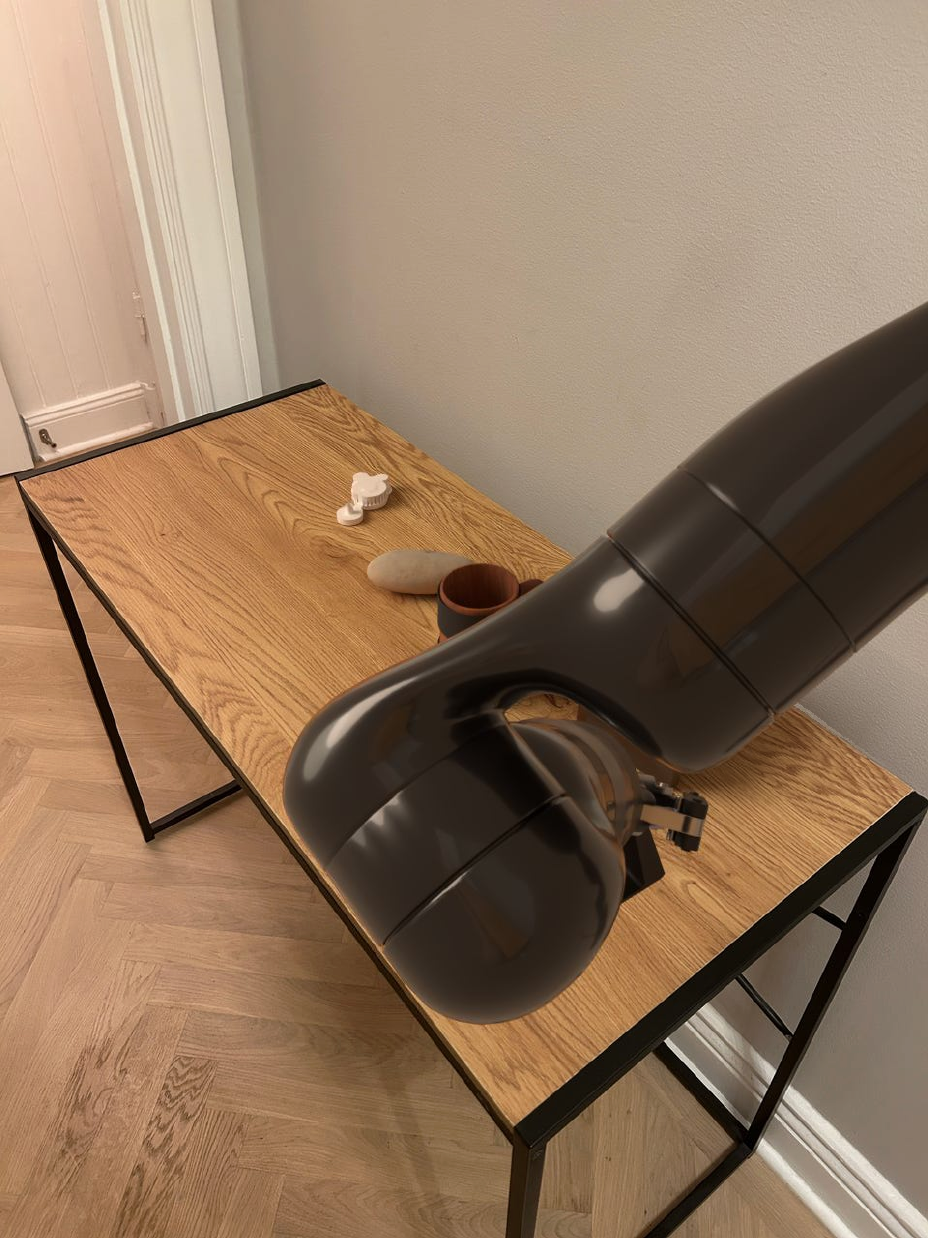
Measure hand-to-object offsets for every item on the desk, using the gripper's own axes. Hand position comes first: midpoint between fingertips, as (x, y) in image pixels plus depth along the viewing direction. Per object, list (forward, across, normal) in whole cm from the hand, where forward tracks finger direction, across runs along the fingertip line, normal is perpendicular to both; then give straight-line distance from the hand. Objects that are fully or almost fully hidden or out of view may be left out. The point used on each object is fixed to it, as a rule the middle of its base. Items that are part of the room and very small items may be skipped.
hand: (599, 782), depth 59 cm
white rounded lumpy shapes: (+50, +43, -22) cm, 70 cm away
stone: (+40, +29, -12) cm, 51 cm away
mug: (+33, +17, -5) cm, 37 cm away
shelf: (+32, -1, -4) cm, 32 cm away
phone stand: (+5, 0, +7) cm, 8 cm away
